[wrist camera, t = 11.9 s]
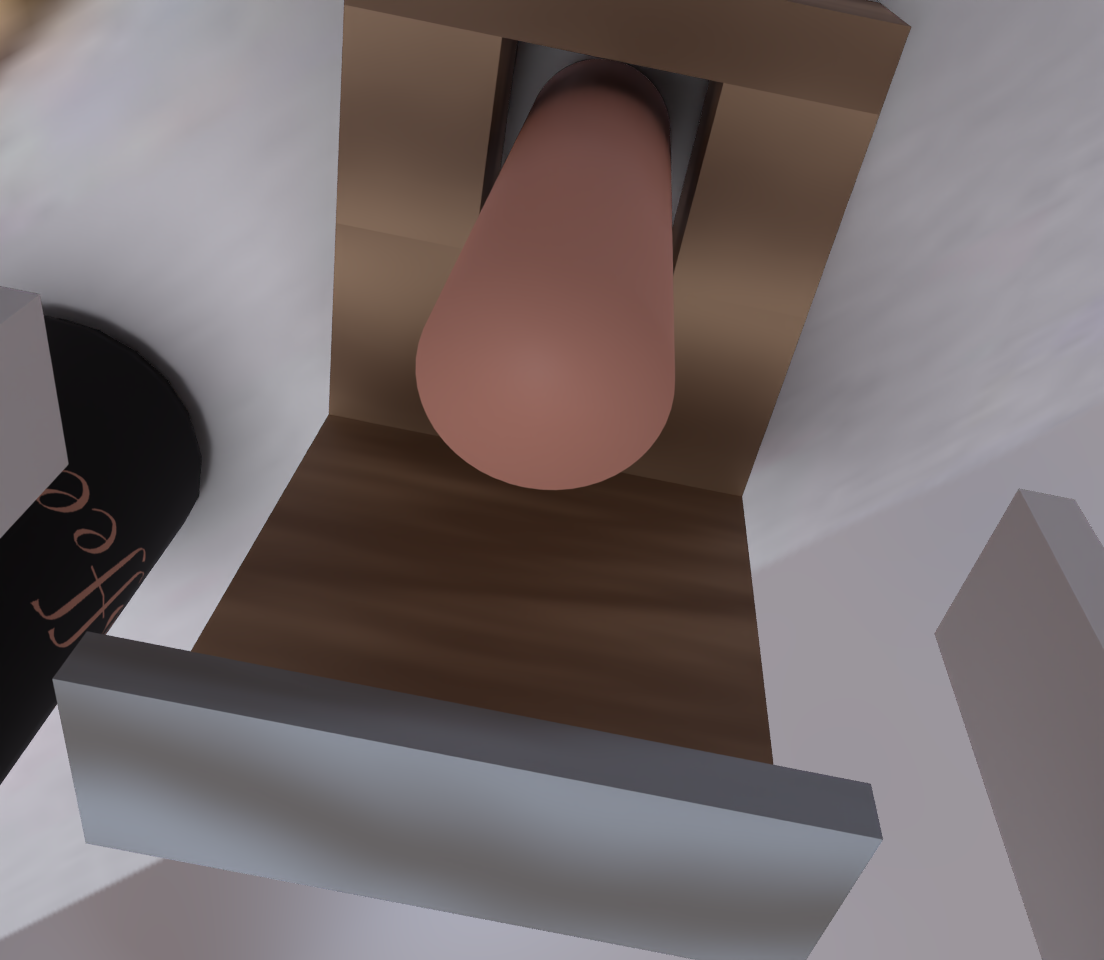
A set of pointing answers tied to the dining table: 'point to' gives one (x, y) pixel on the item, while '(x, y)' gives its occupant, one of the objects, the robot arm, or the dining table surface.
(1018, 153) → the dining table surface
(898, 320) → the dining table surface
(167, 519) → the coffee jar
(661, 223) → the peg
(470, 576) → the station
